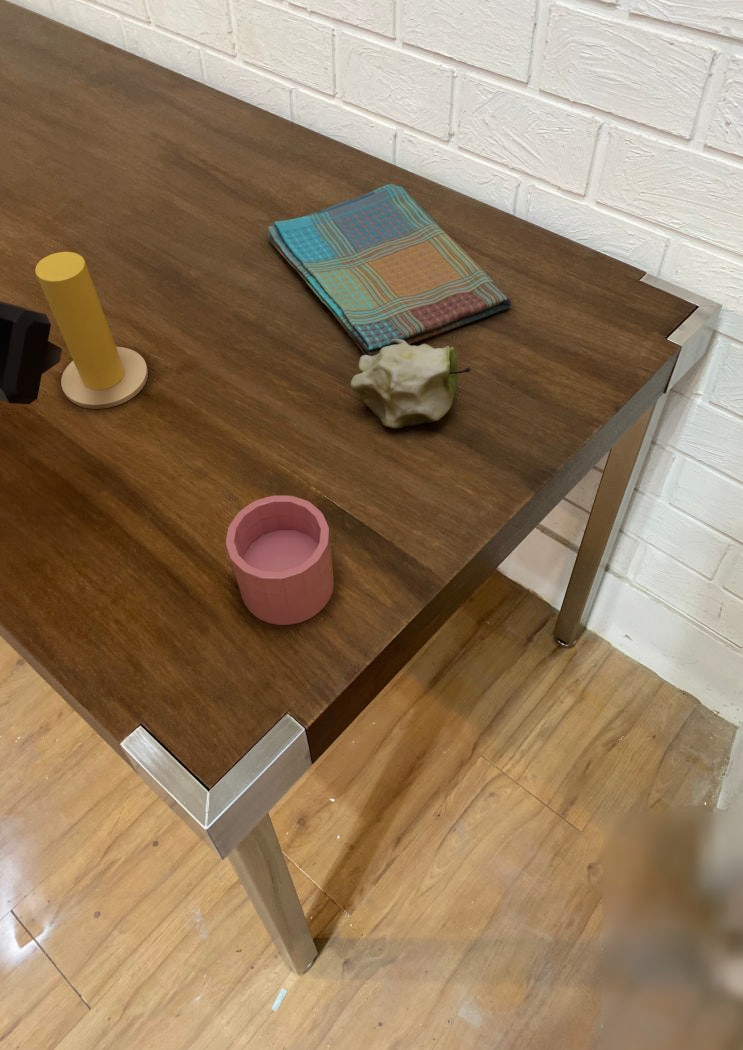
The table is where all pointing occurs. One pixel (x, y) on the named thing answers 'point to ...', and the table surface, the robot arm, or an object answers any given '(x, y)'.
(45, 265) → the yellow cylinder
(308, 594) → the pot
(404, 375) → the fruit
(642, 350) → the table surface
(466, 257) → the dish towel
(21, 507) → the table surface
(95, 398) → the disc
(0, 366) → the robot arm
